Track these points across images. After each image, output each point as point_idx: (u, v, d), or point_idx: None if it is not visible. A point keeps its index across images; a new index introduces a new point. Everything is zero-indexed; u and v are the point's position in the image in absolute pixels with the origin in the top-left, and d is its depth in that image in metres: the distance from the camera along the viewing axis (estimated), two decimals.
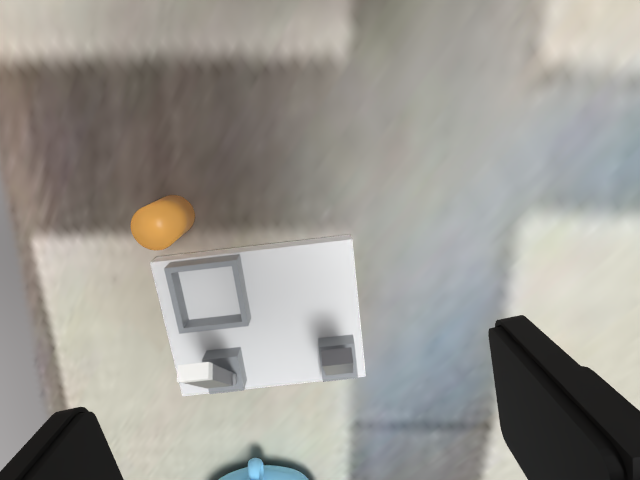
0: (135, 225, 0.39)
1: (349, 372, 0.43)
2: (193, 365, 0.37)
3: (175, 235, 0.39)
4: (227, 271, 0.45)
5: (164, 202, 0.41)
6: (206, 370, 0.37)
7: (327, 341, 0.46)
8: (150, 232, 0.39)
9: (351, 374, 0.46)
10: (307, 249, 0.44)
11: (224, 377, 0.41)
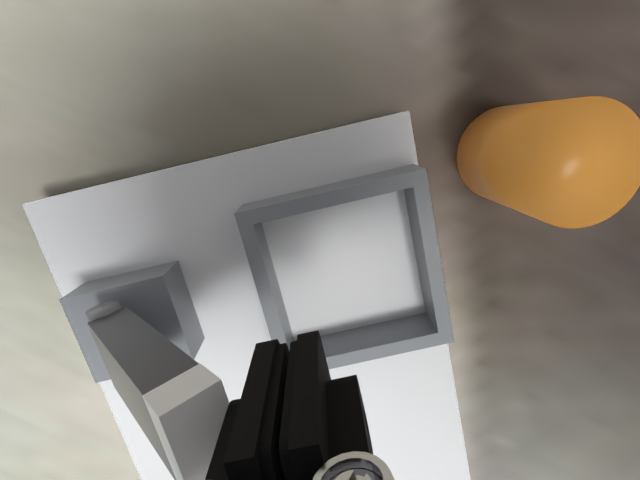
0: (594, 110, 0.13)
1: None
2: None
3: (558, 223, 0.14)
4: (396, 297, 0.19)
5: None
6: None
7: None
8: (572, 156, 0.14)
9: None
10: (453, 445, 0.21)
11: None
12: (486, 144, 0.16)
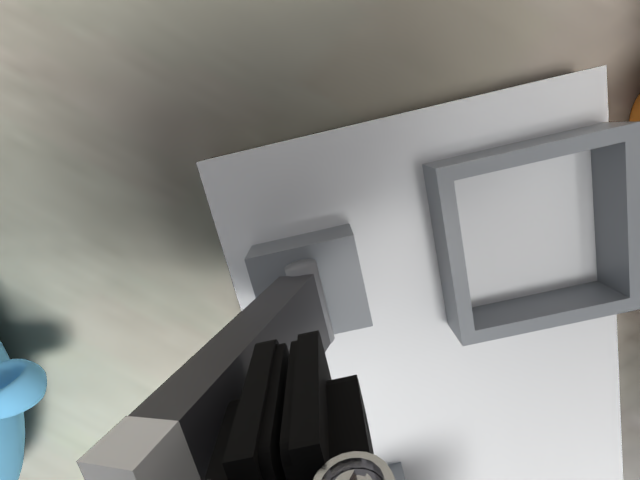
0: None
1: None
2: None
3: None
4: (569, 264, 0.18)
5: None
6: None
7: None
8: None
9: None
10: (609, 422, 0.21)
11: None
12: None
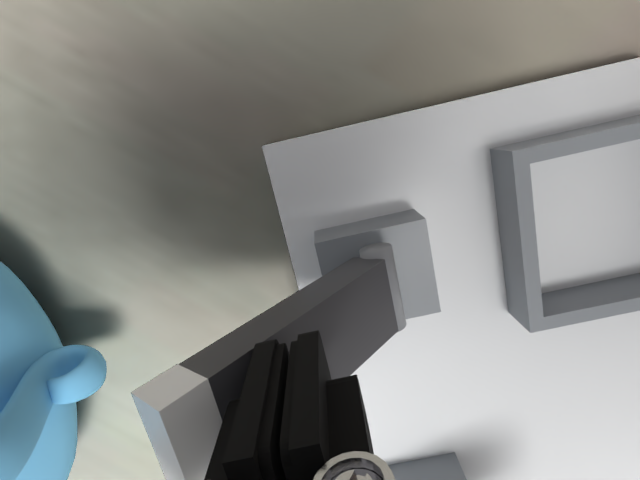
0: None
1: None
2: (177, 464, 0.09)
3: None
4: (633, 251, 0.18)
5: None
6: None
7: None
8: None
9: None
10: None
11: None
12: None
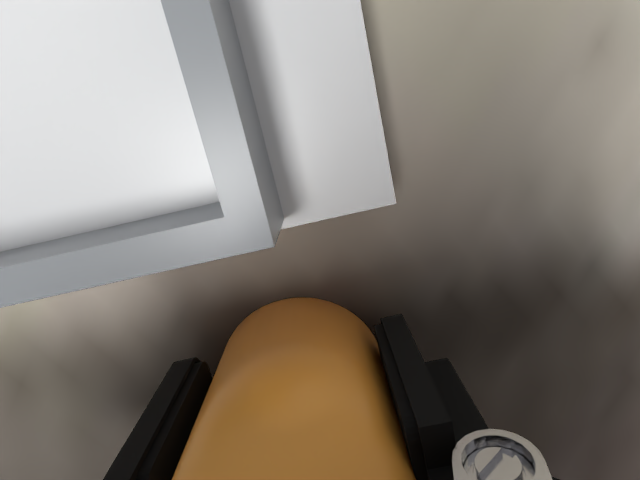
0: None
1: None
2: None
3: None
4: None
5: None
6: None
7: None
8: None
9: None
10: None
11: None
12: (327, 365, 0.08)
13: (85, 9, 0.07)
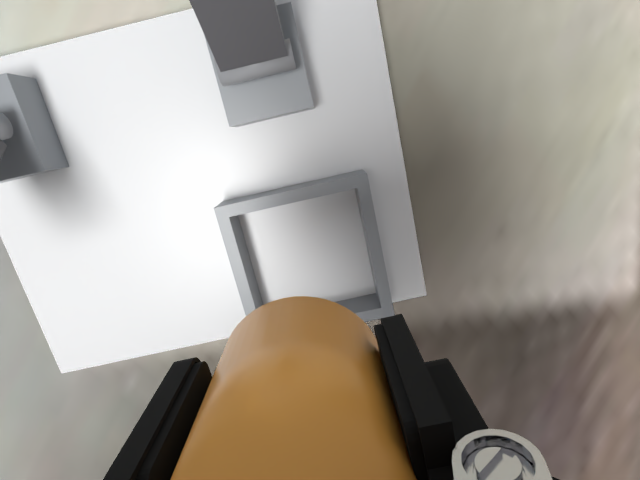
0: None
1: None
2: None
3: None
4: (279, 293, 0.23)
5: None
6: None
7: (38, 173, 0.20)
8: None
9: None
10: (137, 348, 0.24)
11: None
12: (327, 364, 0.08)
13: (330, 238, 0.22)
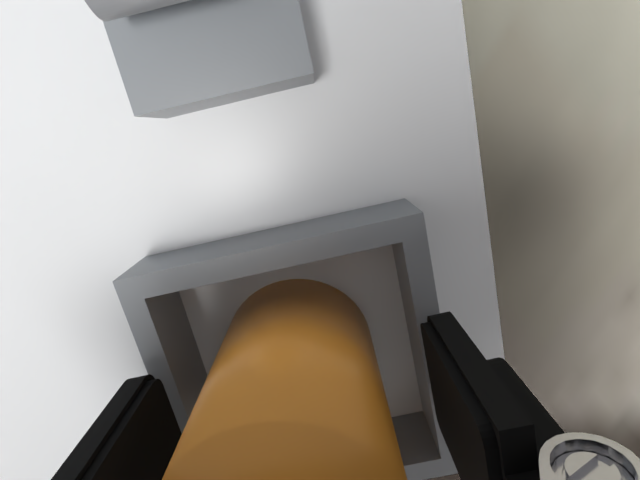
0: None
1: None
2: None
3: None
4: None
5: None
6: None
7: None
8: None
9: None
10: None
11: None
12: (318, 331, 0.09)
13: None
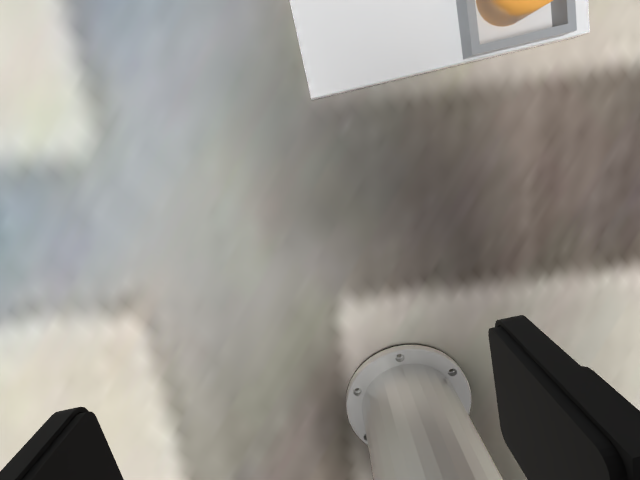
0: None
1: None
2: None
3: None
4: (481, 29, 0.31)
5: (525, 10, 0.27)
6: None
7: None
8: None
9: None
10: (370, 76, 0.32)
11: None
12: None
13: None
